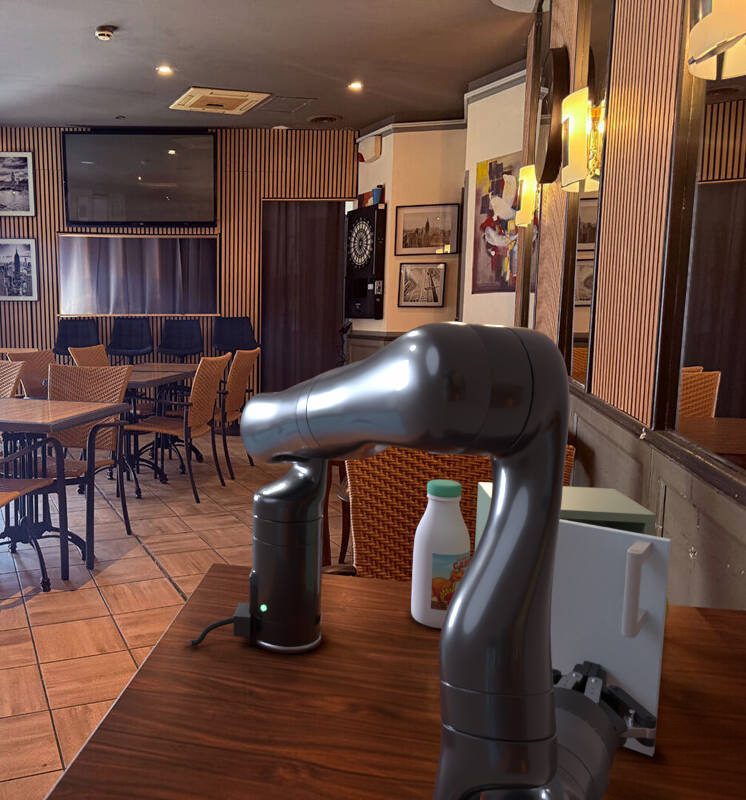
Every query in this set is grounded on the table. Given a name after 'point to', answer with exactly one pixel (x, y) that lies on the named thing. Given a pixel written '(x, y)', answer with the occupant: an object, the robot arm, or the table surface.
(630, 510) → the cabinet
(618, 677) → the cabinet door
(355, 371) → the robot arm
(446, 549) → the milk bottle
